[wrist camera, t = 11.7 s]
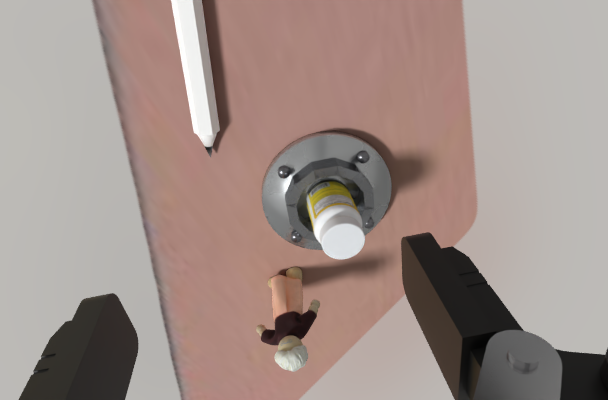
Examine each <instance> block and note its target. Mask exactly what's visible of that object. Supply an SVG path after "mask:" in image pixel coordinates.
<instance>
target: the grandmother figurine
mask: <svg viewBox="0 0 608 400" xmlns="http://www.w3.org/2000/svg"><path fill="white" fill-rule="evenodd" d="M286 276H287V277H285V276H283V275H277V276H274V277H272V278H270V279H269V280H268V285H269V286H270V287H271V288H272V291H273V293H272V302H273V317H274V323H275V330H267V329H266V328H265V326H264V325H258V326H257V328H256V331H257V332H258V333H259V335H260V337H261V340H262V342H264V343H267V344H270V345H279V346H278V351H277V353H276V354H275V361H276V362H277V363H278V364H279V365H280V367H281V368H283V369H286V370H290V371H297V370H298V369H300V368H301V367H303V366H305V364H306V361H307V359H308V353H307V349H306V347H305V346H304V345H303V344H302V342H301V339H302V338H304V336H305V335H306V334H307V332H308V331H309V329H310V327H311V325H312V324H313V322H314V320H315V319H316V317H317V312H318V308H319V306H320V303H319V301H318V300H313V301H312V302H311V306H310V307H309V309H308V311H307V312H306V313H304V314H302V306H303V291H302V271H301V269H300V268H298V267H293V268H290V269H288V270H287V271H286Z"/></svg>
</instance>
